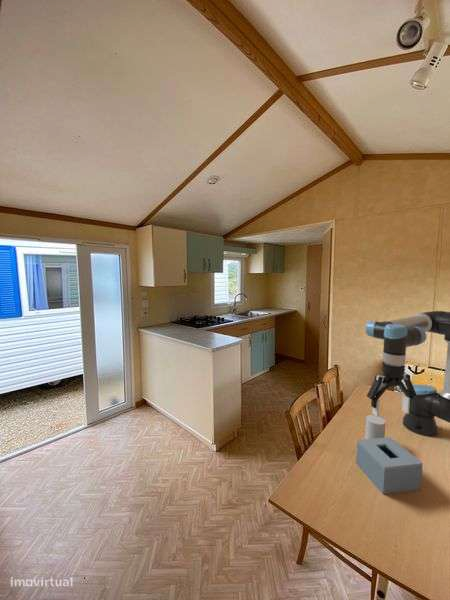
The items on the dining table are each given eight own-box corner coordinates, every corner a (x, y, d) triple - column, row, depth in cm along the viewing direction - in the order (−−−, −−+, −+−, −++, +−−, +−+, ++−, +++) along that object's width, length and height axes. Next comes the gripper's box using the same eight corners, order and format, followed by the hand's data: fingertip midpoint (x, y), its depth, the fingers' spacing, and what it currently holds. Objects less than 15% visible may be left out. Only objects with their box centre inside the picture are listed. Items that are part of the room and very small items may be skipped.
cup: (386, 448, 122) (388, 425, 121) (368, 446, 124) (369, 423, 123) (380, 438, 130) (381, 415, 129) (362, 436, 132) (364, 414, 131)
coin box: (389, 460, 115) (390, 437, 114) (420, 489, 99) (422, 463, 98) (356, 463, 113) (357, 440, 112) (382, 494, 97) (384, 467, 96)
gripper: (413, 358, 108) (409, 406, 110) (358, 361, 104) (356, 411, 106) (429, 364, 100) (425, 415, 102) (371, 368, 97) (369, 421, 99)
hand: (390, 413), depth 104 cm, fingers open, 13 cm apart
